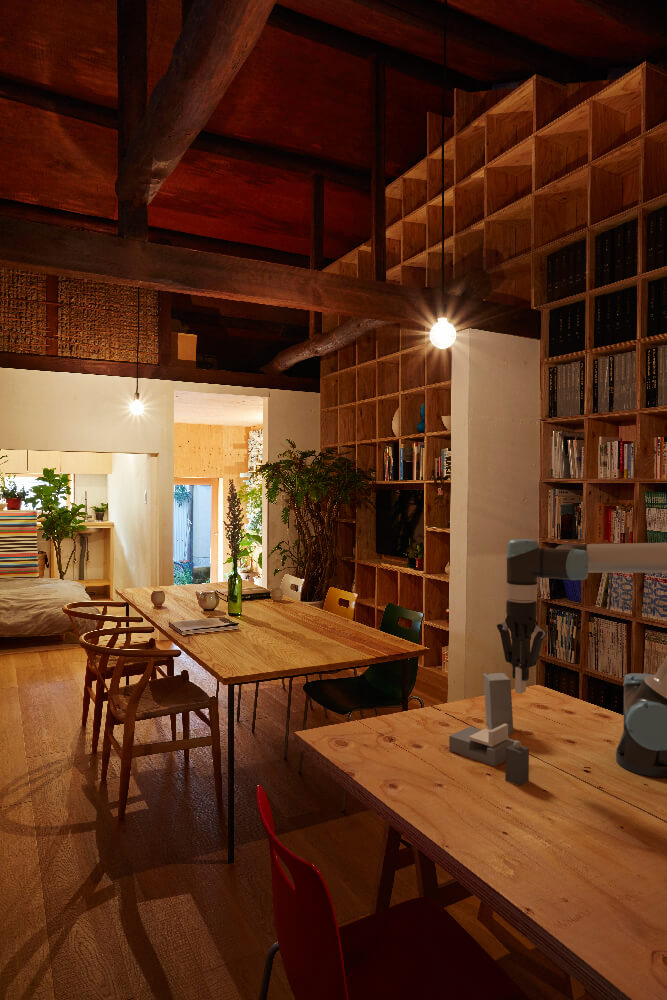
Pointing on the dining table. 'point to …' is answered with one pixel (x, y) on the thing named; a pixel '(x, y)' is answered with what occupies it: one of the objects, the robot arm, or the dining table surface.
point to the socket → (478, 747)
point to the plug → (517, 764)
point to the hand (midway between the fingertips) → (520, 691)
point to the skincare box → (498, 701)
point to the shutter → (491, 735)
